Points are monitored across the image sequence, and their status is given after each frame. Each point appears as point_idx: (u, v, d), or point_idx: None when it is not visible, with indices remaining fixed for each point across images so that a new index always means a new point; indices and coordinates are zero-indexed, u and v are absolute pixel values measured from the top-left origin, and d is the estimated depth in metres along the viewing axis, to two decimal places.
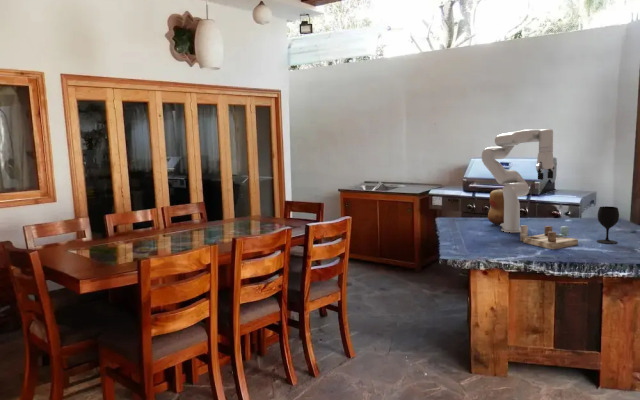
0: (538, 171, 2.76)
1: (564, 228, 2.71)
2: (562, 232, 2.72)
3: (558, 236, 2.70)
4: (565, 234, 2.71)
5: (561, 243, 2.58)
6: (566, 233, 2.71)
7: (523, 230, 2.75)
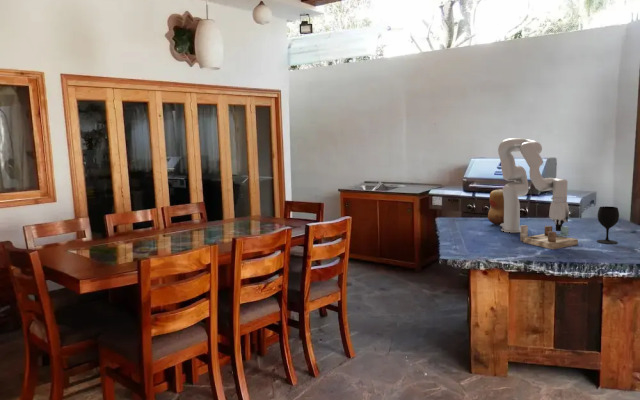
0: (562, 223, 2.74)
1: (564, 228, 2.71)
2: (562, 232, 2.72)
3: (558, 236, 2.70)
4: (565, 234, 2.71)
5: (561, 243, 2.58)
6: (566, 233, 2.71)
7: (523, 230, 2.75)
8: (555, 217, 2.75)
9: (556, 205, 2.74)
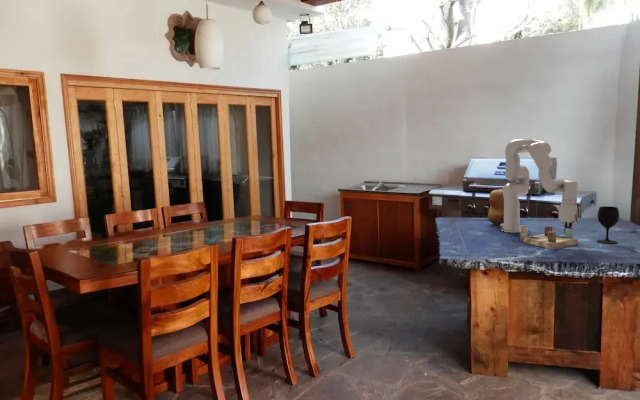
0: (570, 225, 2.69)
1: (566, 229, 2.67)
2: (565, 233, 2.68)
3: (556, 236, 2.70)
4: (566, 236, 2.67)
5: (561, 243, 2.58)
6: (567, 235, 2.66)
7: (523, 230, 2.75)
8: (563, 219, 2.70)
9: (565, 207, 2.69)
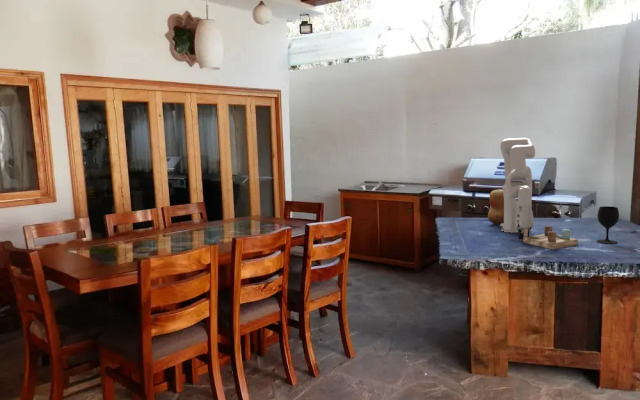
0: None
1: None
2: None
3: None
4: (562, 236, 2.66)
5: (561, 243, 2.58)
6: (562, 236, 2.65)
7: (523, 230, 2.75)
8: (527, 226, 2.74)
9: (528, 214, 2.73)
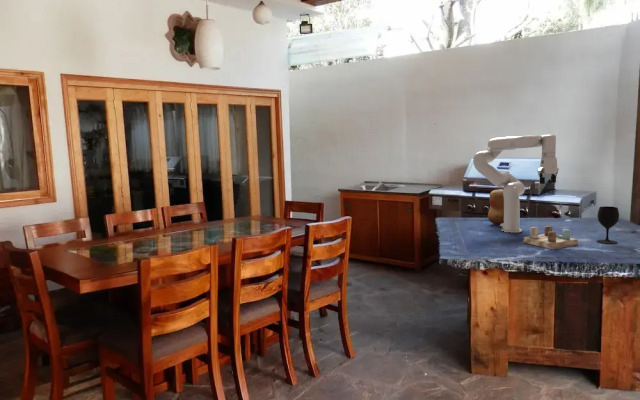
0: None
1: None
2: None
3: None
4: (562, 236, 2.66)
5: (561, 243, 2.58)
6: (562, 236, 2.65)
7: (533, 232, 2.69)
8: (551, 171, 2.84)
9: (552, 160, 2.83)
